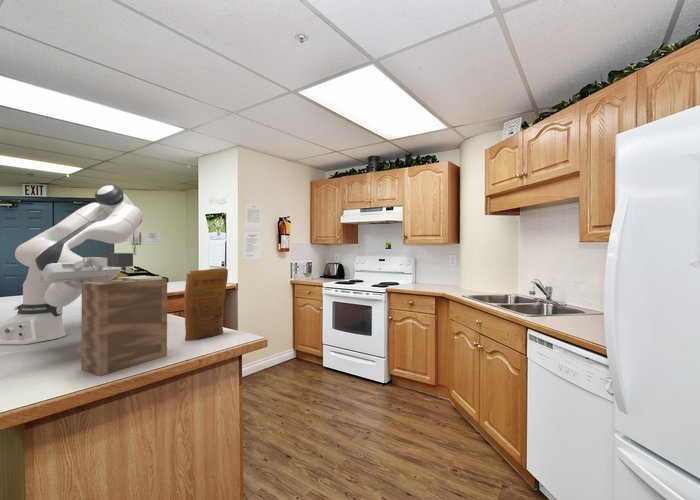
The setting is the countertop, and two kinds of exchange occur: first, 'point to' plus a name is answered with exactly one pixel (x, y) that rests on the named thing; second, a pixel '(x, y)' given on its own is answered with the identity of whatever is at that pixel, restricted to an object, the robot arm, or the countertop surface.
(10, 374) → the countertop surface
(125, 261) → the grey metal bar
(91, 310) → the brown wooden box
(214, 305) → the pancake mix bag
